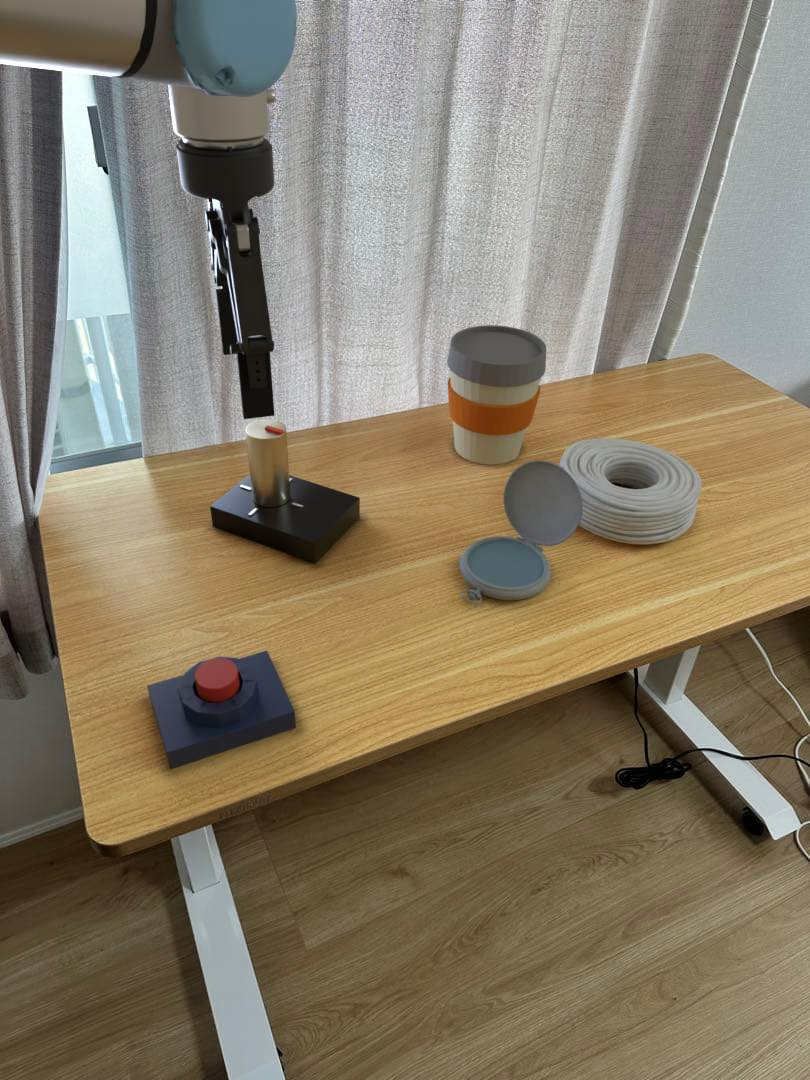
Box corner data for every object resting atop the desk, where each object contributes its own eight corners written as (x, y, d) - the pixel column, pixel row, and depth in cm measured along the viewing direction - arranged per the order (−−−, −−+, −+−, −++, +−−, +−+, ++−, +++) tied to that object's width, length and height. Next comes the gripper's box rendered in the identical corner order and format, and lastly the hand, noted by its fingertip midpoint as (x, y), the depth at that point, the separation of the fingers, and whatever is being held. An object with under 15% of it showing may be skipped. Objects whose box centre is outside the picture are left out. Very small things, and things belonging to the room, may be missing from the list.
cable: (521, 496, 101) (527, 454, 97) (615, 455, 110) (624, 416, 106) (628, 569, 90) (640, 526, 86) (723, 518, 99) (737, 477, 95)
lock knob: (244, 500, 93) (237, 429, 87) (266, 482, 96) (260, 412, 90) (276, 511, 91) (271, 440, 86) (297, 492, 95) (293, 422, 89)
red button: (202, 708, 68) (200, 694, 67) (192, 678, 70) (190, 664, 69) (244, 695, 69) (242, 681, 68) (233, 667, 71) (231, 653, 70)
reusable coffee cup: (432, 463, 106) (439, 358, 97) (450, 419, 116) (458, 319, 107) (527, 478, 104) (543, 372, 95) (537, 432, 114) (553, 331, 105)
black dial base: (212, 527, 94) (209, 504, 92) (262, 485, 101) (260, 464, 99) (315, 564, 89) (314, 541, 87) (359, 518, 96) (359, 496, 94)
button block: (170, 769, 67) (163, 738, 64) (150, 701, 73) (143, 671, 70) (296, 727, 71) (294, 697, 68) (268, 666, 77) (265, 636, 74)
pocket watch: (596, 479, 85) (519, 544, 75) (578, 559, 91) (506, 629, 82) (516, 445, 89) (434, 503, 80) (505, 524, 96) (428, 586, 87)
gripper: (303, 175, 56) (313, 441, 68) (247, 107, 74) (263, 327, 87) (191, 180, 54) (224, 453, 67) (163, 109, 72) (193, 333, 85)
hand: (246, 382), depth 77 cm, fingers open, 13 cm apart
